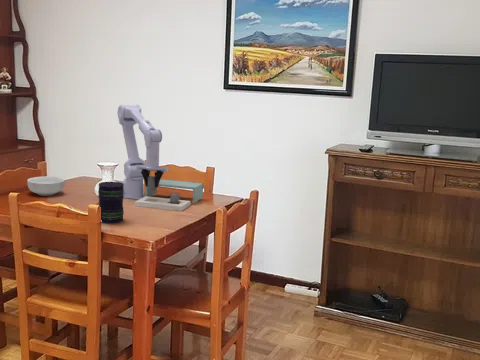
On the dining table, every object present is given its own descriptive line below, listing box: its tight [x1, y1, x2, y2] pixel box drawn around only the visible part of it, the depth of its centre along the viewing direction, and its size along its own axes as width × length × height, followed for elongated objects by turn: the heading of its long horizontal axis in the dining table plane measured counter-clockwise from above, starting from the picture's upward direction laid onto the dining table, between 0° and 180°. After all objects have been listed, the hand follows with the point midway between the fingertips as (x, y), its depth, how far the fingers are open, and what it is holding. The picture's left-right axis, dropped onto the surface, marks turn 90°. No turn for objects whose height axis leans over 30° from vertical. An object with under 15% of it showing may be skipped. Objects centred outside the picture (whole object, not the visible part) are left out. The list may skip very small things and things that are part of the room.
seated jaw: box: [169, 192, 180, 204], centre depth 254 cm, size 4×4×6 cm
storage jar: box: [97, 181, 125, 225], centre depth 225 cm, size 10×10×15 cm
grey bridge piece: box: [144, 178, 204, 203], centre depth 269 cm, size 25×12×7 cm, turn 76°
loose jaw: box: [147, 175, 156, 191], centre depth 255 cm, size 4×4×6 cm
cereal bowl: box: [27, 175, 66, 197], centre depth 267 cm, size 17×17×7 cm
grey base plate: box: [134, 196, 191, 212], centre depth 256 cm, size 22×12×2 cm, turn 76°
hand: (152, 186), depth 256 cm, fingers closed on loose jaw, 4 cm apart
